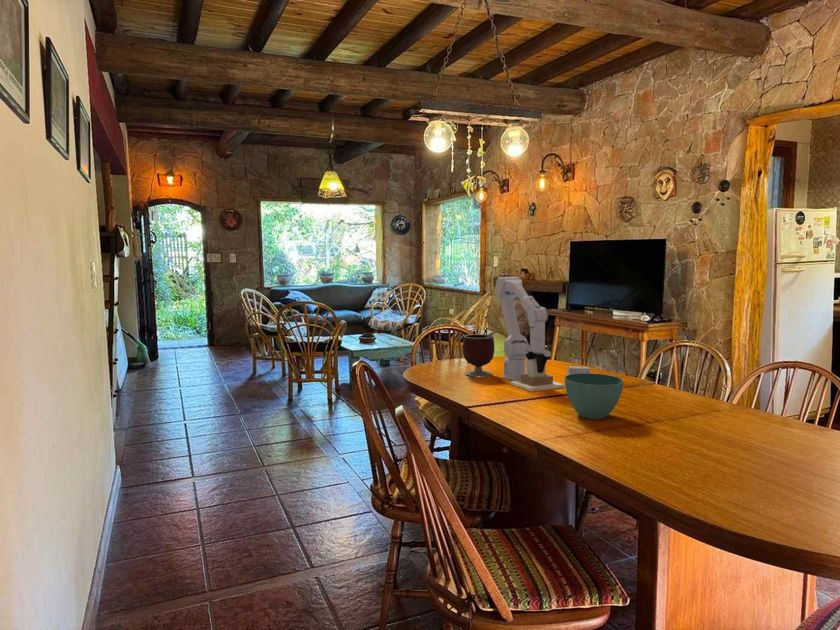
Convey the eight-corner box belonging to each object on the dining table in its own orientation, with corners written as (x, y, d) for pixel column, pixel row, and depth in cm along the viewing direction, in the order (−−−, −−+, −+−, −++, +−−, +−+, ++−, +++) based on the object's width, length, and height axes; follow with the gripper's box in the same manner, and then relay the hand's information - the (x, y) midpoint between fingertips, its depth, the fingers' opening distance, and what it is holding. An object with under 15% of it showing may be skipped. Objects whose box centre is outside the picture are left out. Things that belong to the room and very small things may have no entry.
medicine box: (587, 388, 225) (588, 366, 224) (590, 390, 221) (590, 368, 220) (567, 387, 226) (567, 366, 225) (569, 390, 221) (569, 368, 221)
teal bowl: (620, 410, 191) (621, 374, 190) (624, 425, 174) (625, 386, 173) (564, 407, 196) (565, 371, 195) (563, 421, 179) (563, 382, 178)
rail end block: (527, 376, 229) (527, 359, 228) (539, 375, 232) (539, 358, 231) (533, 378, 226) (533, 361, 225) (545, 377, 228) (545, 359, 227)
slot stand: (510, 384, 232) (510, 374, 232) (541, 380, 239) (542, 370, 239) (530, 391, 219) (531, 380, 219) (564, 387, 226) (564, 376, 226)
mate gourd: (459, 376, 248) (459, 331, 246) (466, 370, 262) (466, 327, 260) (495, 378, 244) (495, 332, 242) (500, 372, 257) (500, 328, 255)
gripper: (518, 336, 232) (518, 369, 233) (540, 340, 219) (540, 375, 220) (532, 335, 235) (532, 368, 236) (555, 339, 222) (554, 374, 223)
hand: (536, 371), depth 229 cm, fingers closed on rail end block, 4 cm apart
